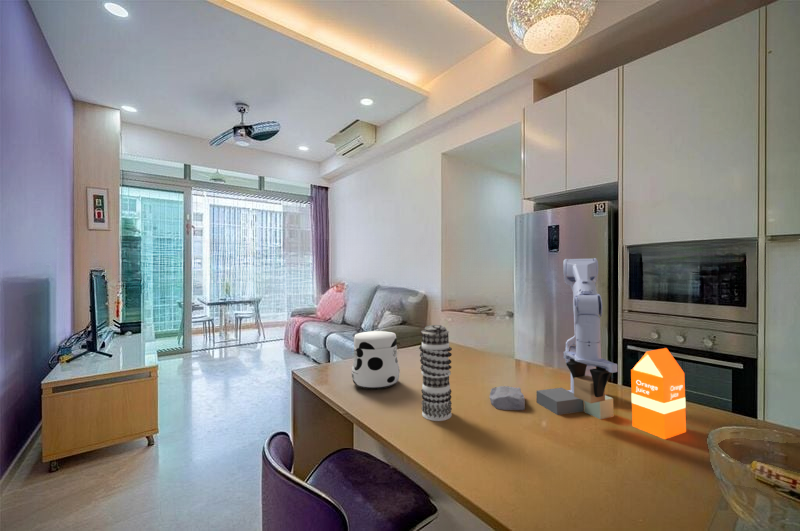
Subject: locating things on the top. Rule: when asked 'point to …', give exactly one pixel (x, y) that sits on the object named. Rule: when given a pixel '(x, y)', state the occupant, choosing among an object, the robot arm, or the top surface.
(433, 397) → the decorative candle
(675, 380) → the orange juice
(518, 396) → the stone block
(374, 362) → the milk container
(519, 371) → the top surface
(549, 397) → the charcoal block
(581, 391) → the walnut block
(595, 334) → the robot arm
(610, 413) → the sage block
